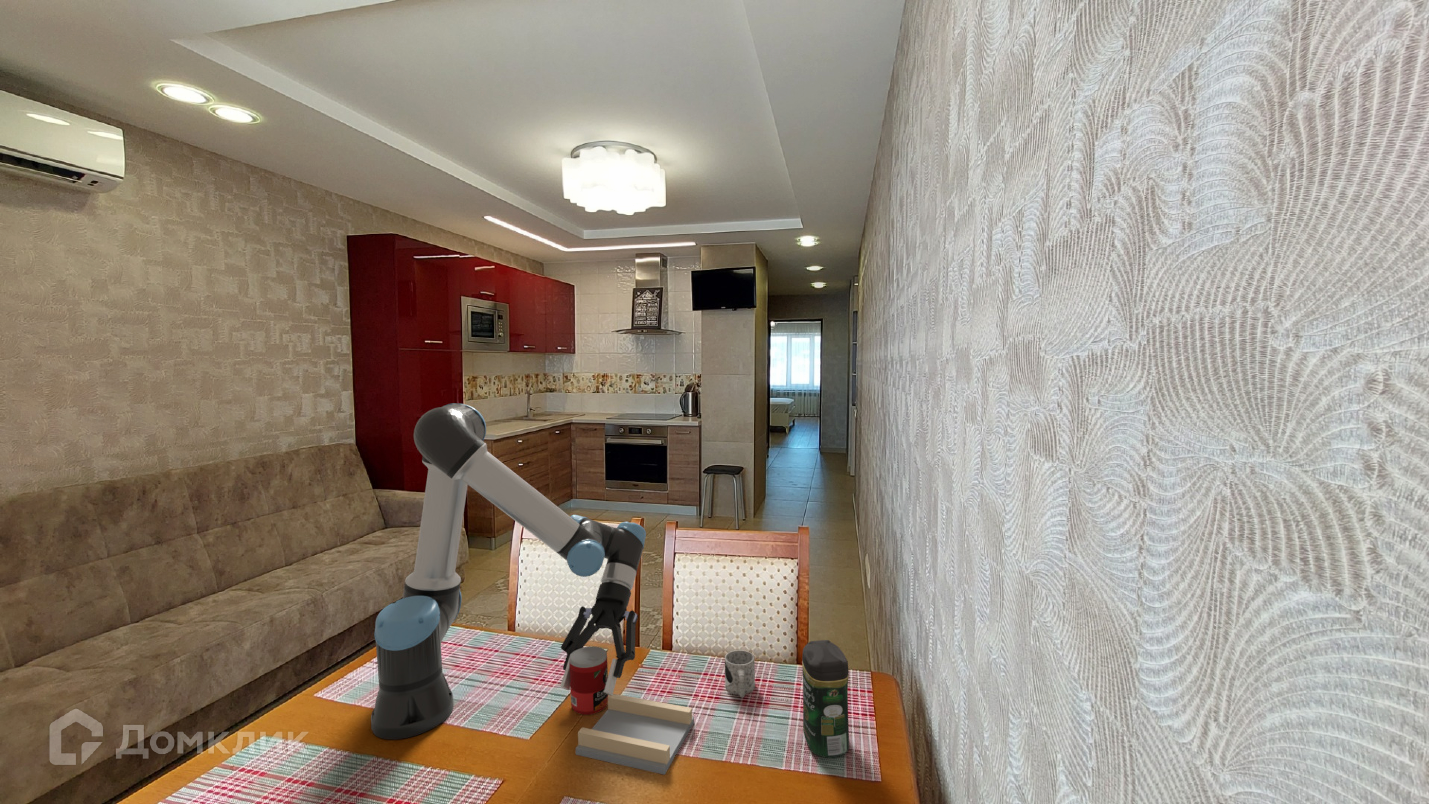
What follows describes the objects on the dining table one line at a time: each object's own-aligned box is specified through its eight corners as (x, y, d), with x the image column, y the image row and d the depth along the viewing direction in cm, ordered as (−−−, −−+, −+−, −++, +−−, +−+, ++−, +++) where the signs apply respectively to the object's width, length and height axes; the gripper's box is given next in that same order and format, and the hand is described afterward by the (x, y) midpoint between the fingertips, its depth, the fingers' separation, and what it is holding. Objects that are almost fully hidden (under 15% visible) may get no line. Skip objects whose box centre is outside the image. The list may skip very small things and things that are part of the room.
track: (575, 754, 106) (575, 735, 105) (614, 707, 120) (613, 690, 120) (664, 774, 100) (664, 754, 100) (694, 722, 114) (693, 705, 114)
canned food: (601, 717, 117) (599, 666, 116) (564, 714, 118) (562, 663, 117) (614, 695, 124) (612, 647, 123) (579, 692, 125) (577, 644, 125)
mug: (724, 678, 130) (723, 650, 130) (753, 677, 130) (752, 649, 130) (726, 704, 120) (726, 674, 120) (758, 703, 120) (757, 673, 120)
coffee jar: (798, 728, 112) (797, 637, 111) (837, 724, 113) (836, 634, 111) (812, 762, 102) (811, 663, 101) (854, 758, 103) (854, 660, 102)
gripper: (665, 596, 131) (641, 702, 117) (581, 590, 138) (548, 689, 124) (654, 583, 126) (627, 692, 112) (567, 577, 133) (531, 679, 119)
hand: (586, 690), depth 118 cm, fingers open, 9 cm apart
